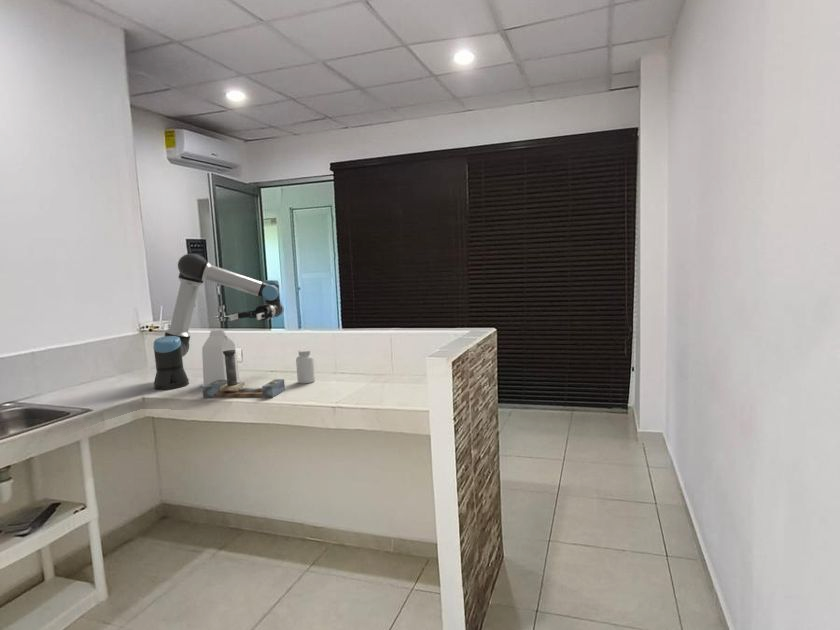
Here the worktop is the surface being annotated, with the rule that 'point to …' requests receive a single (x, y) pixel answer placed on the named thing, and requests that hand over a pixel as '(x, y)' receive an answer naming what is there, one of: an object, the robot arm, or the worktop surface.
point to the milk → (216, 357)
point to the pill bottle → (305, 367)
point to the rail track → (244, 390)
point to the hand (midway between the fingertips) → (243, 317)
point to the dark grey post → (231, 373)
